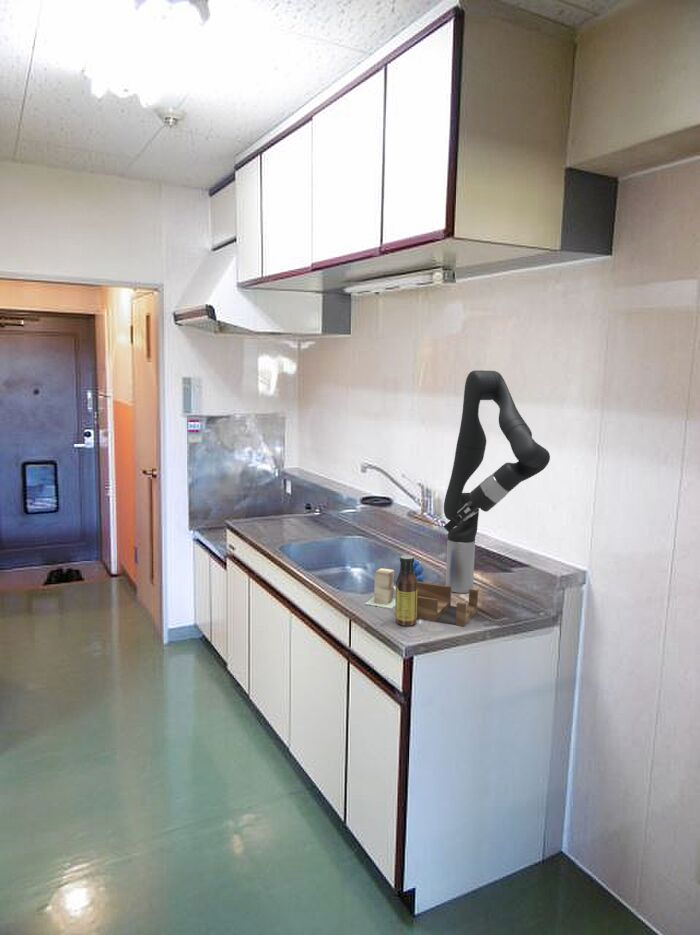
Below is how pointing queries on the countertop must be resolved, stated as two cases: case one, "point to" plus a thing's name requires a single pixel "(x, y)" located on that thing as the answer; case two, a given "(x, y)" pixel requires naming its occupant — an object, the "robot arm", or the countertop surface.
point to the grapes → (418, 571)
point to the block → (384, 586)
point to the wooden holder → (443, 605)
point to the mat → (389, 606)
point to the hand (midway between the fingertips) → (450, 526)
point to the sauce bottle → (406, 593)
